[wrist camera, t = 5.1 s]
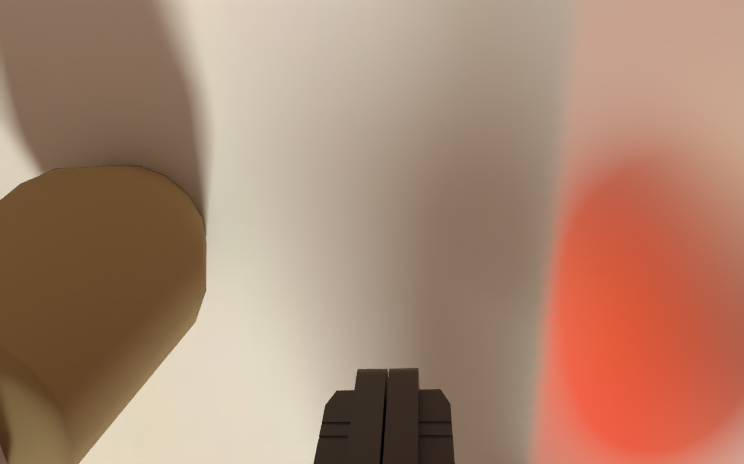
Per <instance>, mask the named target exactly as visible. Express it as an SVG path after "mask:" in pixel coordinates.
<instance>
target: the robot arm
mask: <svg viewBox="0 0 744 464" xmlns="http://www.w3.org/2000/svg"><path fill="white" fill-rule="evenodd" d="M314 464H455V462H454V449H453V435H452V421H451V408H450V403H449V402H448V400H447V399H446V397H445V396H444V394H443V393H442V391H441V390H440V389H436V390H419V370H418V368H404V369H389V377H388V370H387V369H358V371H357V377H356V384H355V390H345V391H336V392H335V394H334V395H333V396H332V397H331V399H330V400H329V401H328V403H327V404H326V405H325V410H324V415H323V420H322V425H321V430H320V435H319V440H318V444H317V449H316V454H315V459H314Z"/></svg>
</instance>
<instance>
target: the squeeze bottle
mask: <svg viewBox="0 0 744 464" xmlns="http://www.w3.org/2000/svg"><path fill="white" fill-rule="evenodd" d="M205 292H206V238H205V230H204V223H203V219H202V217H201V215H200V214H199V212H198V210H197V208H196V207H195V205H194V203H193V201H192V200H191V198H190V196H189V195H188V194H186V193H185V192H184V191H183V190H182V189H181V188H179V187H178V186H177V185H176V184H175V183H174V182H172V181H171V180H170V179H169V178H168V177H166V176H163V175H161V174H158V173H156V172H153V171H151V170H148V169H145V168H143V167H140V166H101V167H79V168H58V169H54V170H51V171H49V172H47V173H44V174H42V175H40V176H38V177H35V178H33V179H31V180H28V181H26V182H24V183H21V184H20V185H18V186H17V187H16V188H15V189H14V190H12V191H11V192H10V193H9V194H7V195H6V196H5V197H4V198H3V199H1V200H0V464H79V463H80V461H81V460H82V459H83V458H84V457H85V455H86V454H87V453H88V452H89V450H90V449H91V448H92V447H93V446H94V444H95V443H96V442H97V441H98V440H99V438H100V437H101V436H102V435H103V433H104V432H105V431H106V430H107V429H108V427H109V426H110V425H111V424H112V423H113V421H114V420H115V419H116V418H117V416H118V415H119V414H120V413H121V412H122V410H123V409H124V408H125V407H126V406H127V404H128V403H129V402H130V401H131V400H132V398H133V397H134V396H135V395H136V393H137V392H138V391H139V390H140V389H141V387H142V386H143V385H144V384H145V383H146V381H147V380H148V379H149V378H150V376H151V375H152V374H153V373H154V372H155V370H156V369H157V368H158V367H159V366H160V364H161V363H162V362H163V361H164V359H165V358H166V357H167V356H168V355H169V353H170V352H171V351H172V350H173V349H174V347H175V346H176V345H177V344H178V343H179V341H180V340H181V339H182V338H183V336H184V335H185V334H186V333H187V332H188V330H189V329H190V328H191V327H192V326H193V324H194V323H195V322H196V319H197V316H198V313H199V310H200V307H201V304H202V301H203V298H204V295H205Z"/></svg>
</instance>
